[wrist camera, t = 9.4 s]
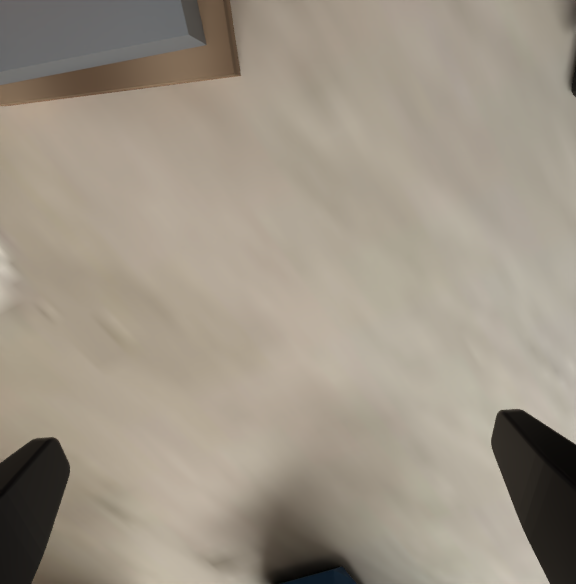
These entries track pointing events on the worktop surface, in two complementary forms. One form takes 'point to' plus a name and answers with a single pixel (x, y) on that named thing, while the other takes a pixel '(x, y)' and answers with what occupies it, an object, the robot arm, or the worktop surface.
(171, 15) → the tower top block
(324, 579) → the radio
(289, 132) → the worktop surface
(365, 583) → the worktop surface
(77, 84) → the tower base block
